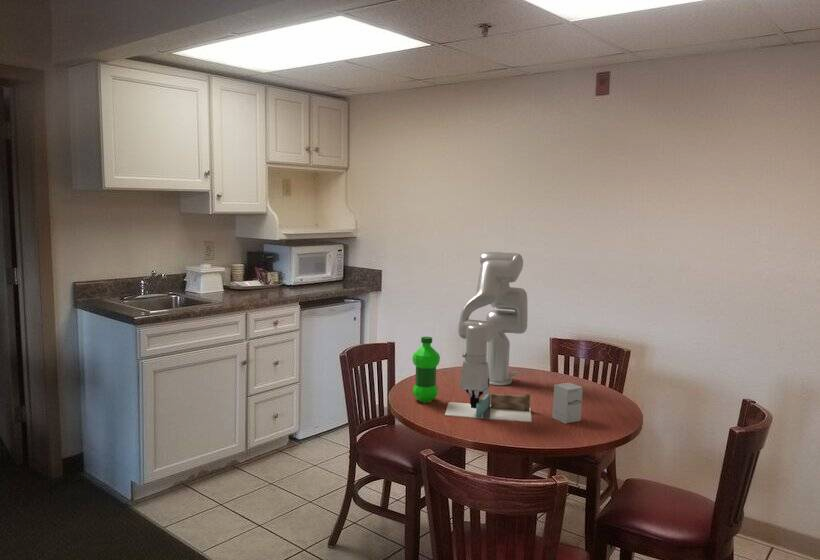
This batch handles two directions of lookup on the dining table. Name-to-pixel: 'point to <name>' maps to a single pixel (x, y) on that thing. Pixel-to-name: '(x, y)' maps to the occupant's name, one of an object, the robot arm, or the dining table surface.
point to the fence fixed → (510, 402)
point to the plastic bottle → (425, 371)
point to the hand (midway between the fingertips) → (474, 407)
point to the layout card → (488, 413)
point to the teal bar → (482, 405)
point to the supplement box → (567, 402)
